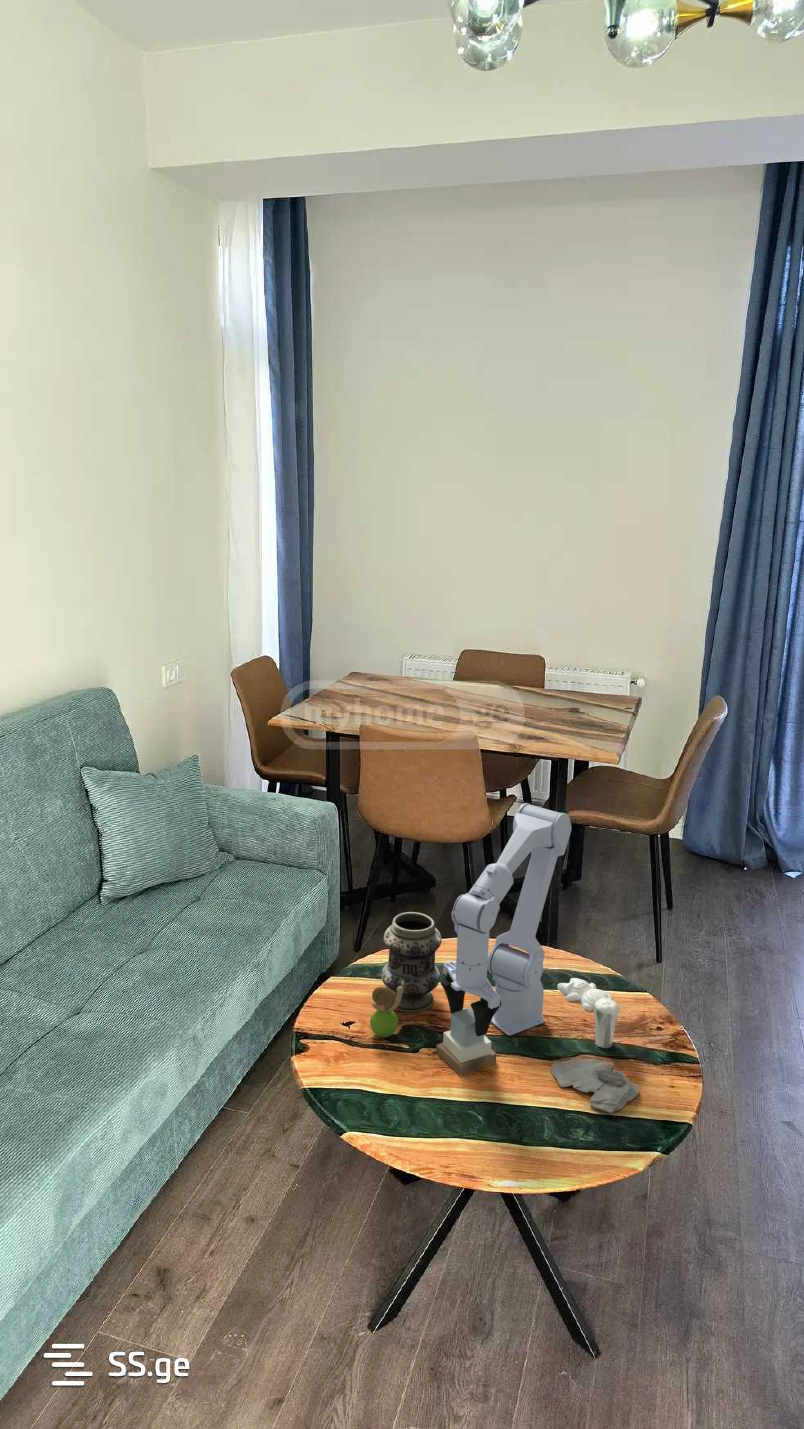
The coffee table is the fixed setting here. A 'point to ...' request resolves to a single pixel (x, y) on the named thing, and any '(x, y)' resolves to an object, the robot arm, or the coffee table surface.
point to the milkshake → (605, 1021)
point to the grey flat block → (464, 1066)
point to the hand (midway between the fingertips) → (468, 1024)
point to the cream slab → (466, 1048)
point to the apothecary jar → (412, 960)
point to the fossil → (596, 1082)
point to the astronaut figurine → (583, 992)
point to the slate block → (464, 1028)
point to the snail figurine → (385, 1010)
